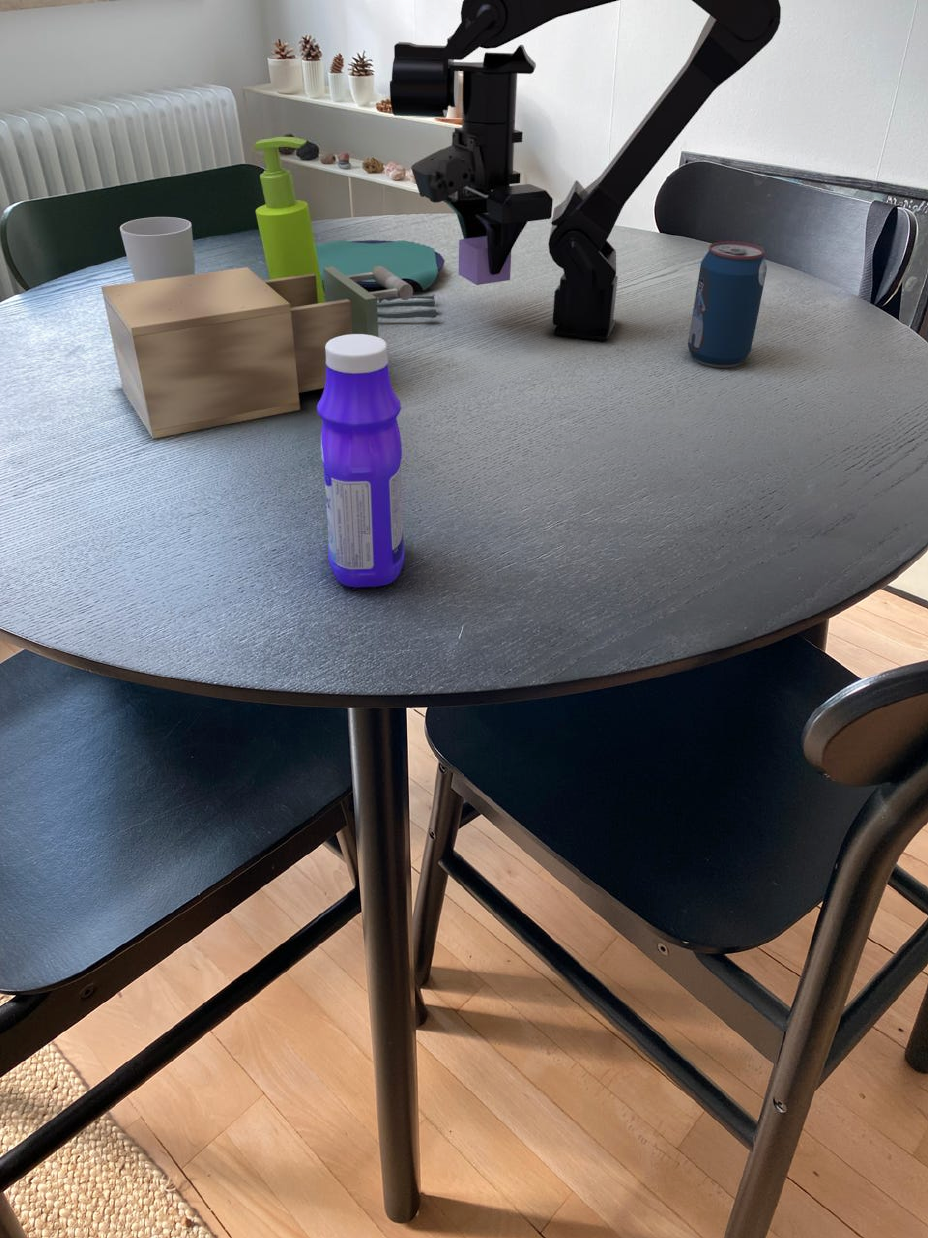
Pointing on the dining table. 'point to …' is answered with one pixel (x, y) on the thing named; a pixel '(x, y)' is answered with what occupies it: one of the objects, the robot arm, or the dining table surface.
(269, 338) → the wooden drawer box
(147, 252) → the cup
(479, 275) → the lavender cube block
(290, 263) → the soap dispenser
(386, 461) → the bottle
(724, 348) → the soda can
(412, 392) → the dining table surface
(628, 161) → the robot arm
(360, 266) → the cutlery set
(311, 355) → the drawer with grey handle
